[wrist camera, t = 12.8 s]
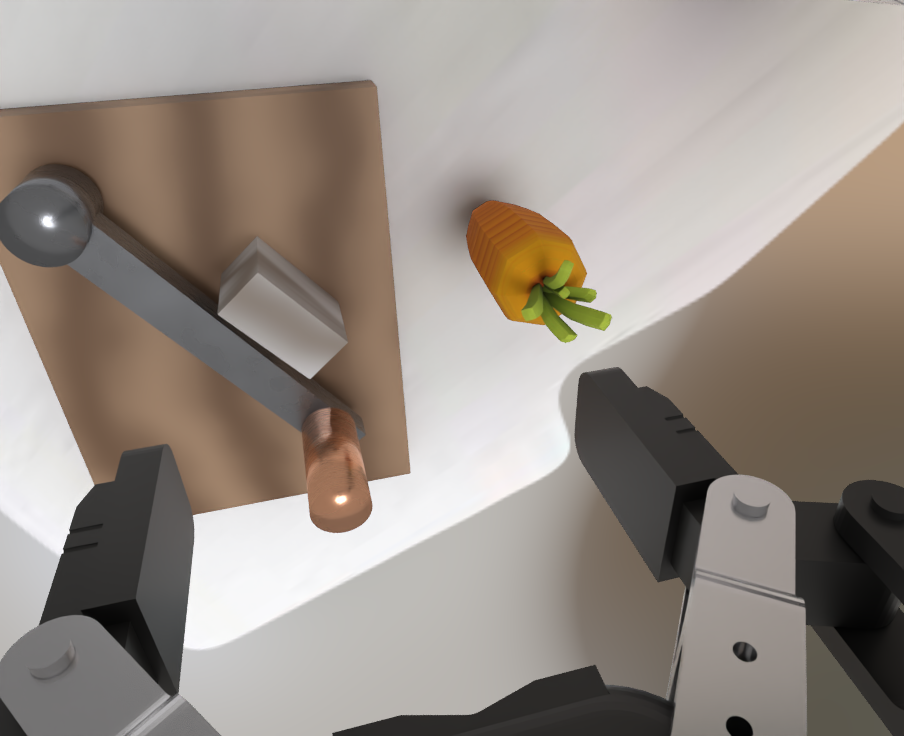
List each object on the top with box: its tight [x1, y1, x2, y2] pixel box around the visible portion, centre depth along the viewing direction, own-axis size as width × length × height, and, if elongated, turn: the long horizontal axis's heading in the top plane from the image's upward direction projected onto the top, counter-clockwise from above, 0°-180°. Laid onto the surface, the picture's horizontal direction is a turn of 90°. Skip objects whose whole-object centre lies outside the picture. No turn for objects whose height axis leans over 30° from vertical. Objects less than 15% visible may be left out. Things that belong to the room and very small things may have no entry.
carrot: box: [466, 200, 612, 343], centre depth 35 cm, size 5×5×15 cm
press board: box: [0, 80, 410, 515], centre depth 38 cm, size 20×26×7 cm
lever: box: [0, 164, 372, 533], centre depth 34 cm, size 4×22×10 cm, turn 39°
